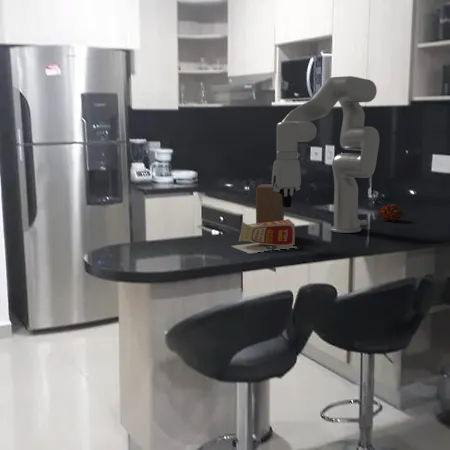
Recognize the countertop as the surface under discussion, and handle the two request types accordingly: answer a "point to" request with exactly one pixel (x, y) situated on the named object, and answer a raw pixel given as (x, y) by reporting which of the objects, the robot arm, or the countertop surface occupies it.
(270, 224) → the milk carton
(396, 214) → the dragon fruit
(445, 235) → the countertop surface
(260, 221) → the wooden block
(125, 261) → the countertop surface
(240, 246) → the mat
